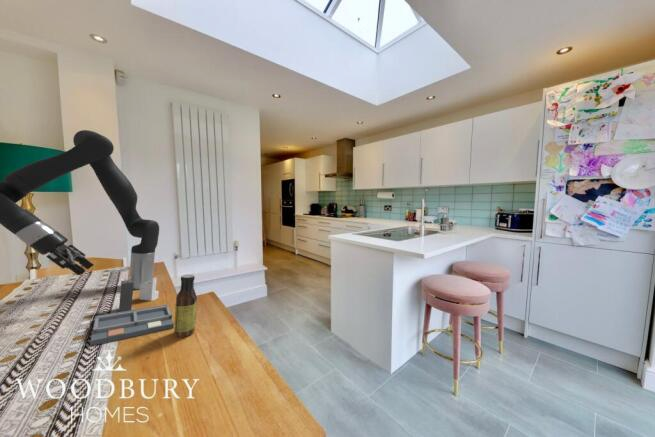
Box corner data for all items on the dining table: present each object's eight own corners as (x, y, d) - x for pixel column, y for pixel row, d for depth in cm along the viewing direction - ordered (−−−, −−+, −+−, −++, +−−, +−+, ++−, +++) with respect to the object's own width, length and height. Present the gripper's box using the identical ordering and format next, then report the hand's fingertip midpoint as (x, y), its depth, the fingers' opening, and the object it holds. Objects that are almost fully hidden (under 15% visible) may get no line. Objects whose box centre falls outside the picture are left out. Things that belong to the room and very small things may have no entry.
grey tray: (95, 320, 81) (95, 312, 81) (165, 308, 95) (166, 301, 95) (90, 346, 68) (90, 336, 68) (173, 328, 82) (174, 320, 82)
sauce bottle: (198, 331, 81) (203, 276, 80) (181, 340, 75) (186, 280, 75) (186, 326, 84) (191, 272, 83) (168, 333, 78) (173, 275, 77)
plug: (119, 308, 91) (121, 276, 91) (130, 306, 94) (133, 275, 93) (118, 311, 89) (121, 279, 88) (131, 310, 91) (133, 278, 91)
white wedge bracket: (161, 296, 100) (153, 278, 100) (141, 305, 101) (133, 286, 101) (167, 293, 103) (160, 276, 104) (148, 302, 104) (141, 284, 105)
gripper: (44, 232, 73) (91, 267, 80) (63, 228, 85) (103, 258, 92) (17, 249, 71) (67, 283, 77) (41, 241, 83) (83, 272, 89)
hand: (87, 270), depth 84 cm, fingers open, 8 cm apart
